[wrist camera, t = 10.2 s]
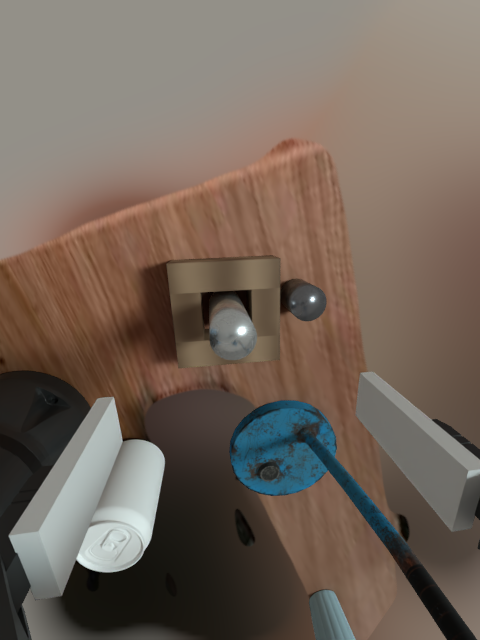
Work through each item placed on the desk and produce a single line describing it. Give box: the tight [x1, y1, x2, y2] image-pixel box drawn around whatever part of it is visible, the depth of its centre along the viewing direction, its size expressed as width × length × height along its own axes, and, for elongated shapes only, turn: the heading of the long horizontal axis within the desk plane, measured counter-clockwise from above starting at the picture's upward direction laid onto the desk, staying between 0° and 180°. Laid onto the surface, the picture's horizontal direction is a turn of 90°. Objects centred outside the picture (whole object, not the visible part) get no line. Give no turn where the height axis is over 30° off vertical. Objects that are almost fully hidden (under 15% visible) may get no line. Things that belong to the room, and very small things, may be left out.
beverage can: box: [76, 439, 165, 572], centre depth 34 cm, size 8×8×12 cm
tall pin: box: [209, 291, 257, 360], centre depth 29 cm, size 4×4×12 cm
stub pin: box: [280, 279, 326, 321], centre depth 33 cm, size 4×4×5 cm
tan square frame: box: [166, 255, 280, 368], centre depth 33 cm, size 12×12×4 cm
